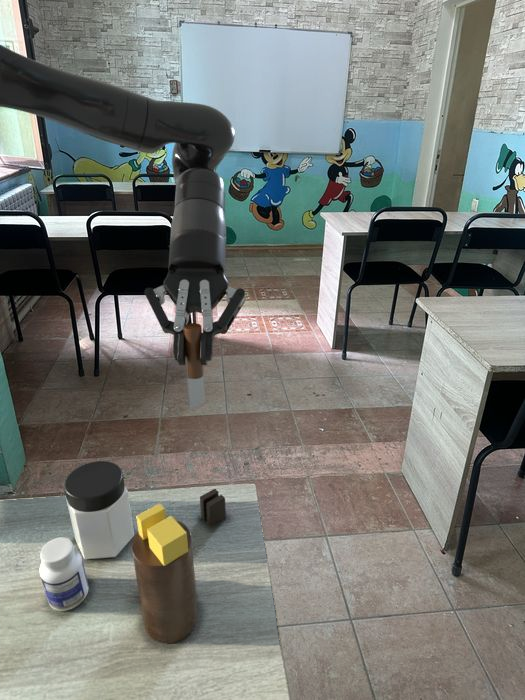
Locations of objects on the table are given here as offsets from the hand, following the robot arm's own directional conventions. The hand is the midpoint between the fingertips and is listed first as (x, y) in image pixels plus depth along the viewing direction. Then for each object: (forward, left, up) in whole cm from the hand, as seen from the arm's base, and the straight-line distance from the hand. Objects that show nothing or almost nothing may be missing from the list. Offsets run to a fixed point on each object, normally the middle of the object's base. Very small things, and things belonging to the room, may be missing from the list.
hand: (192, 362), depth 60 cm
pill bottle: (-5, -19, -32) cm, 37 cm away
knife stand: (-3, +4, -32) cm, 32 cm away
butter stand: (+7, -10, -32) cm, 34 cm away
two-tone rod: (-2, +1, -8) cm, 8 cm away
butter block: (+9, -10, -18) cm, 22 cm away
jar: (-11, -11, -32) cm, 35 cm away
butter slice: (+5, -10, -18) cm, 21 cm away
